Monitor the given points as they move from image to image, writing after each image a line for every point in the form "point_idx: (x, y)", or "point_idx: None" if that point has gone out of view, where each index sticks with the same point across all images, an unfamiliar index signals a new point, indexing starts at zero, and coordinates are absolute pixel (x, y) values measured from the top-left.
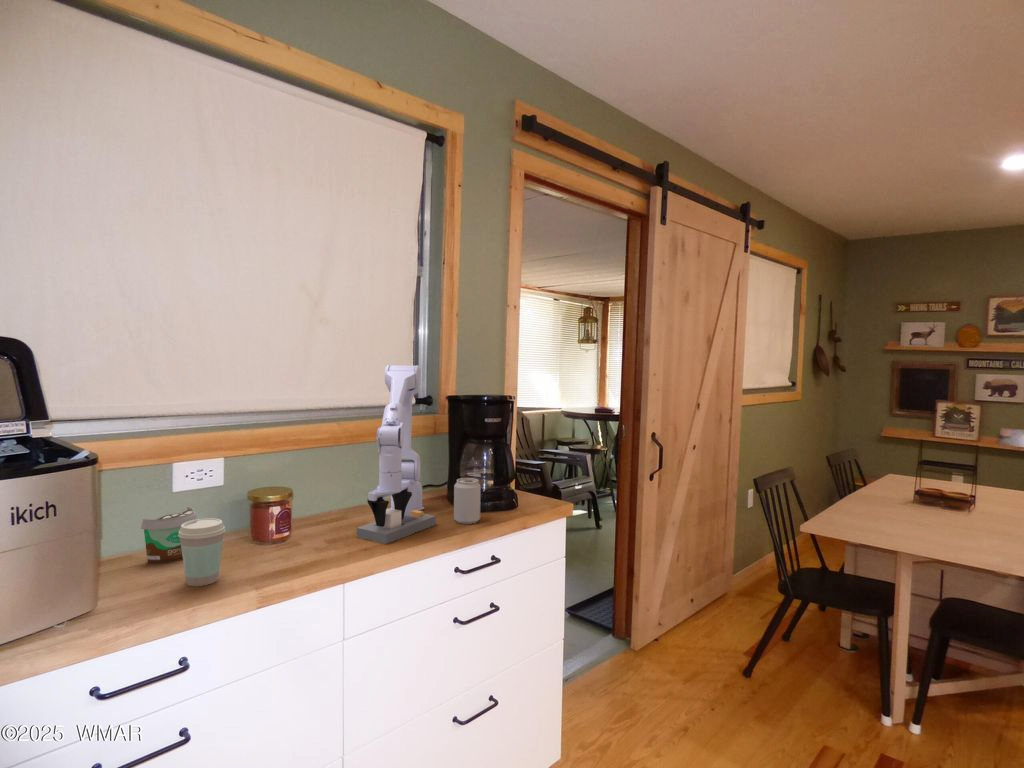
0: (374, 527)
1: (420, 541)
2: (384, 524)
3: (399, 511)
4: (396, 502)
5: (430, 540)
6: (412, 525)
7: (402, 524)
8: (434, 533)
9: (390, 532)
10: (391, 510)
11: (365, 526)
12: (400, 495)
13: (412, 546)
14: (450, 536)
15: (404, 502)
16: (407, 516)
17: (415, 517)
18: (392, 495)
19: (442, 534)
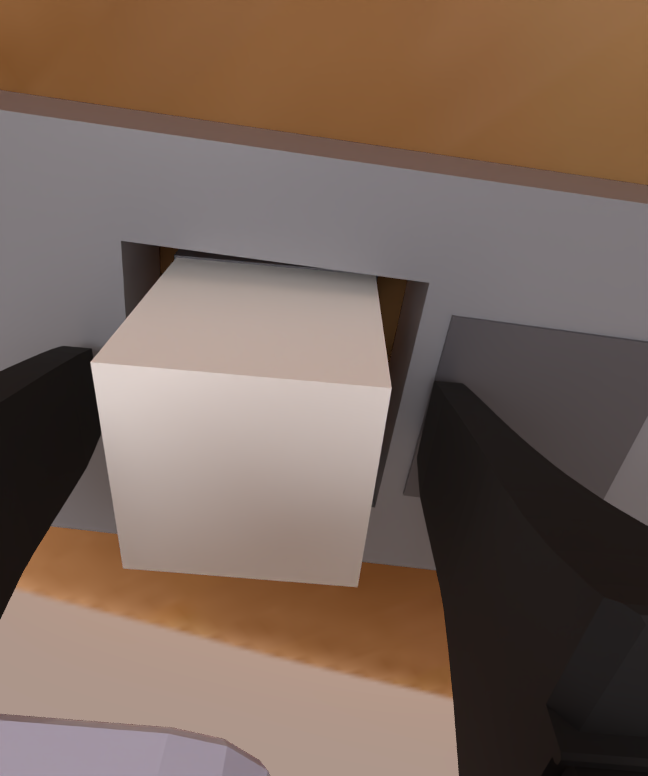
0: (60, 310)
1: (237, 601)
2: (92, 447)
3: (314, 582)
4: (491, 547)
5: (288, 635)
6: (365, 555)
7: (383, 454)
8: (442, 602)
9: (52, 524)
10: (299, 488)
11: (12, 174)
12: (504, 758)
13: (124, 604)
14: (418, 684)
15: (452, 684)
16: (638, 404)
17: (626, 482)
18: (568, 581)
19: (440, 643)
